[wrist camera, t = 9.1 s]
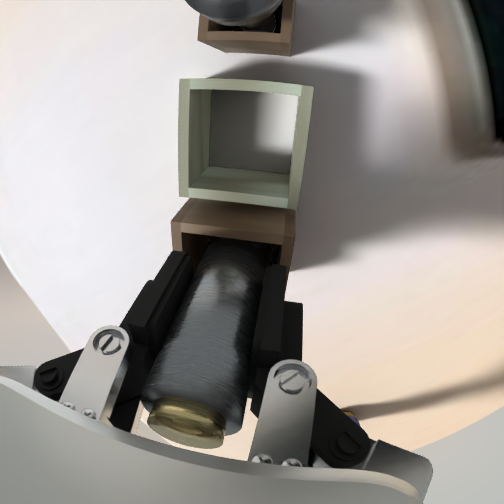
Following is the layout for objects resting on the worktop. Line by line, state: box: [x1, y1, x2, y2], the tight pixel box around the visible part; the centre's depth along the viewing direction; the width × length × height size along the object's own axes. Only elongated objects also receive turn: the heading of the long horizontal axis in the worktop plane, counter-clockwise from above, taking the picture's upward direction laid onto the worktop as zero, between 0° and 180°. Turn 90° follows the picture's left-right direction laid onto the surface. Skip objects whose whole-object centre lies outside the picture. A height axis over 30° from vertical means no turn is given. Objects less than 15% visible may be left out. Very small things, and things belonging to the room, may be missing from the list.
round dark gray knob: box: [185, 0, 282, 33], centre depth 7 cm, size 2×2×6 cm
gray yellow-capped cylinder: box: [140, 236, 272, 449], centre depth 11 cm, size 3×3×11 cm
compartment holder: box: [171, 0, 314, 291], centre depth 11 cm, size 5×14×4 cm, turn 176°
